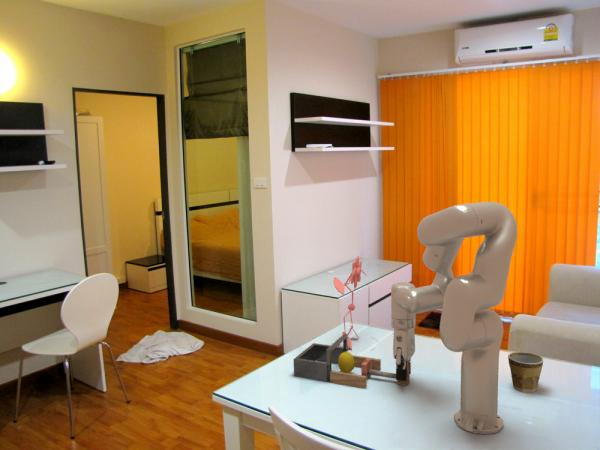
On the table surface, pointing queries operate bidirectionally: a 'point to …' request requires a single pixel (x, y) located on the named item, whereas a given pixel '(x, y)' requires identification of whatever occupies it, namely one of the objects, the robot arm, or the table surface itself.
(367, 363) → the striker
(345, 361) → the lemon
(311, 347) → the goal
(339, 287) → the figurine
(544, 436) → the table surface
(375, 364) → the lane
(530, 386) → the ceramic cup
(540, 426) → the table surface
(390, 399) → the table surface
